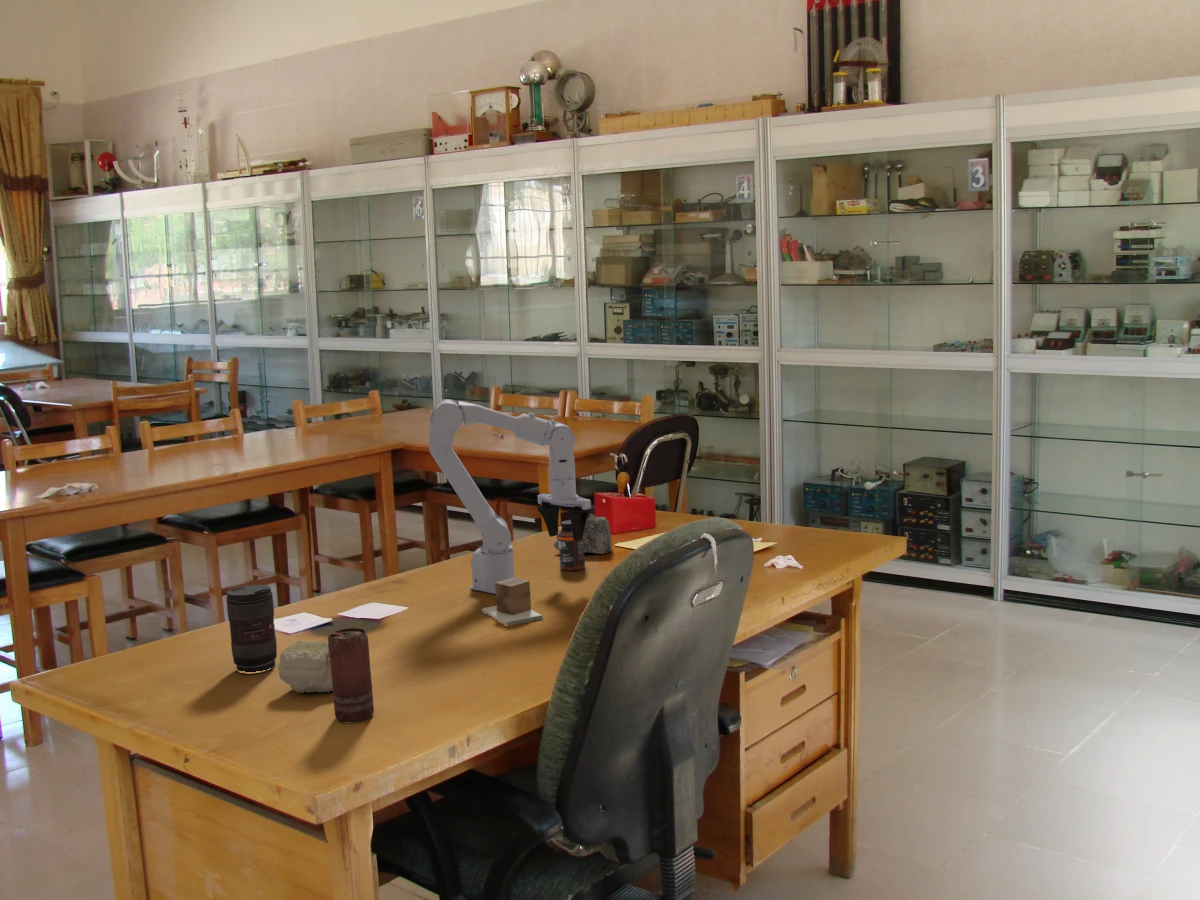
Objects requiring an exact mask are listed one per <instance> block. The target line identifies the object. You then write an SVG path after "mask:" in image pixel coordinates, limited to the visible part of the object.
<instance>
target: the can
mask: <svg viewBox="0 0 1200 900" xmlns="http://www.w3.org/2000/svg"><path fill="white" fill-rule="evenodd" d="M327 641H328V648H329V653H330V664H331V675H332V686H333V692H332V694H333V695H332V696H333V707H334V708H333V709H334V716H335V718H336V719H337V721H338V720H339V722H340V721H342V722H341V723H343V722H347V723H346V724H352V723H351V722H357V723H360V722H359V721H362V722H364V721H363V720H365V721H367V720H369V719H370V718H371V717H372V716H373V715H374V712H375V710H374V709H375V708H374V707H375V705H374V695H373V694H374V693H373V683H372V672H371V671H372V670H371V660H370V659H371V658H370V657H371V656H370V647H369V636H368V635H367V633H366V630H365V629H362V628H357V627H353V628H352V627H351V628H343V629H339V630H335V631H334V632H331V633H329V634H328V637H327ZM368 718H369V719H368ZM366 719H367V720H366ZM348 722H350V723H348Z"/></svg>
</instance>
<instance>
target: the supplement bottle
mask: <svg viewBox="0 0 1200 900" xmlns="http://www.w3.org/2000/svg"><path fill="white" fill-rule="evenodd" d="M560 524H561V525H560V526H561V530H559V531H558V541H559V550H558V554H559V568H560V569H561V570H562V571H565V572H566V571H567V572H574V570H576V571H580V570H582V569H584V568H585V566H586V560H585V559H586V558H585V557H586V556H585V553H584V540H583V538H582V539H581V540H577V541H575V540H574V538H573V529H572V523H571V519H569V520H564V521H561V522H560Z"/></svg>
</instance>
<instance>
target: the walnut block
mask: <svg viewBox="0 0 1200 900" xmlns="http://www.w3.org/2000/svg"><path fill="white" fill-rule="evenodd" d="M495 590H496V594H495V600H496V601H495V602H496V606H497V611H499V612H503V613H506V614H510V615H515V614H518V613H521V612H524V611H527V610H532V602H531V601H532V600H531V599H532V598H531V586H530V580H527V579H522V578H518V577H516V576H514V577H513V578H510V579H506V580H503V581H499V582H496V583H495Z"/></svg>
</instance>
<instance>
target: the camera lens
mask: <svg viewBox="0 0 1200 900" xmlns="http://www.w3.org/2000/svg"><path fill="white" fill-rule="evenodd" d="M273 597H274V596H273V591H272V588H271V586H270V585H267V584H266V585H265V584H251V585H243V586H238V587H234V588H232V589H229V590H228V591H227V592H226V599H225V602H226V609H227V619H228V622H229V631H230V645H231V655H232V658H233V663H234V665H235V666H236V670H237V669H238V670H239V671H245V672H256V671H263V670H267V669H269V668H272V667H274V666H276V660H277V659H276V658H277V657H278V655H277V654H278V653H277V652H278V651H277V650H278V649H277V648H278V645H277V636H276V629H275V623H274V622H275V618H274V617H275V607H274V606H275V604H274V598H273ZM274 668H275V667H274Z"/></svg>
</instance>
